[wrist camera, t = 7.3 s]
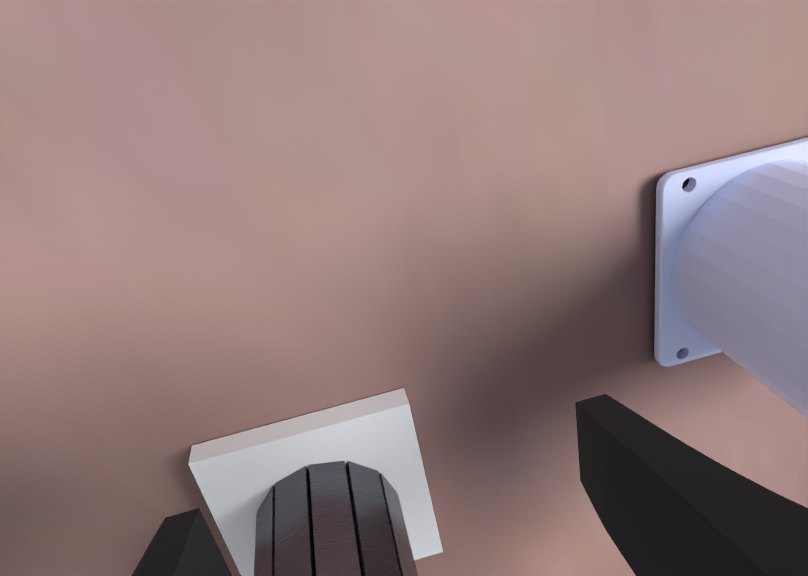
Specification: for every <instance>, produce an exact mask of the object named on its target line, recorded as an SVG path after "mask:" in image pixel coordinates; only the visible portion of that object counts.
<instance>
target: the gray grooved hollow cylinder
mask: <svg viewBox="0 0 808 576" xmlns="http://www.w3.org/2000/svg"><path fill="white" fill-rule="evenodd" d="M254 576H418V575H417V571H416V566H415V562H414V558H413V554H412V550H411V546H410V542H409V538H408V534H407V530H406V525H405V521H404V517H403V513H402V509H401V505H400V501H399V497H398V494H397V492H396V491H395V489H394V488H393V487H392V486H391V484H390V483H389V482H388V481H387V479H386V478H385V477H384V476H383V475H382V473H379V472H378V471H377V470H374V469H371V468H368V467H365V466H362V465H359V464H356V463H353V462H350V461H348V462H347V463H346V465H345V461H336V462H328V463H319V464H310V465H309V469H308V468H307V467H306V466H304V467H302V468H301V469H299V470H297V471H295V472H294V473H292V474H290V475H289V476H287V477H285V478H283V479H282V480H280V481H278V482H276V483H275V486H272V487H271V489H270V491H269V492H268V494H267V495H266V497H265V499H264V500H263V502H262V504H261V505H260V507H259V508H258V510H257V513H256V536H255V559H254Z"/></svg>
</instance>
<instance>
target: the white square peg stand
mask: <svg viewBox="0 0 808 576" xmlns="http://www.w3.org/2000/svg"><path fill="white" fill-rule="evenodd" d="M336 461H345V465H346V463H347V462H348V461H350V462H353V463H356V464H359V465H362V466H365V467H368V468H371V469H374V470H377V471H378V472H379V473H382V475H383V476H384V477H385V478H386V479H387V481H388V482H389V483H390V484H391V486H392V487H393V488H394V489H395V491H396V492H397V494H398V497H399V501H400V505H401V509H402V513H403V517H404V521H405V525H406V530H407V534H408V538H409V542H410V546H411V550H412V554H413V558H414V560H417V559H421V558H424V557H428V556H431V555H434V554H438V553H441V552H443V549H442V545H441V541H440V536H439V532H438V528H437V523H436V519H435V515H434V510H433V506H432V501H431V497H430V493H429V488H428V484H427V480H426V475H425V471H424V467H423V462H422V458H421V453H420V449H419V445H418V440H417V436H416V432H415V427H414V423H413V419H412V414H411V410H410V405H409V402H408V399H407V396H406V393H405V390H404V388H402V389H398V390H394V391H391V392H387V393H383V394H379V395H376V396H372V397H368V398H365V399H361V400H357V401H354V402H350V403H346V404H343V405H339V406H335V407H332V408H328V409H324V410H321V411H317V412H313V413H310V414H306V415H302V416H299V417H295V418H291V419H288V420H284V421H280V422H276V423H273V424H269V425H265V426H262V427H258V428H254V429H251V430H247V431H243V432H240V433H236V434H232V435H229V436H225V437H221V438H218V439H214V440H210V441H207V442H203V443H199V444H196V445H192V448H191V453H190V458H189V463H188V465H189V467H190V469H191V471H192V473H193V475H194V477H195V480H196V482H197V484H198V486H199V488H200V490H201V492H202V494H203V496H204V499H205V501H206V503H207V505H208V507H209V509H210V511H211V513H212V515H213V517H214V520H215V522H216V524H217V526H218V528H219V530H220V532H221V534H222V536H223V539H224V541H225V543H226V545H227V547H228V549H229V551H230V553H231V555H232V558H233V560H234V562H235V564H236V566H237V568H238V570H239V572H240V574H241V576H254V559H255V536H256V513H257V510H258V508H259V507H260V505H261V504H262V502H263V500H264V499H265V497H266V495H267V494H268V492H269V491H270V489H271V487H272V486H275V483H276V482H278V481H280V480H282V479H283V478H285V477H287V476H289V475H290V474H292V473H294V472H295V471H297V470H299V469H301V468H302V467H304V466H306V467H307V468H308V469H309V465H310V464H319V463H328V462H336Z"/></svg>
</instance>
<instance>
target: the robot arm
mask: <svg viewBox="0 0 808 576" xmlns="http://www.w3.org/2000/svg"><path fill="white" fill-rule="evenodd" d="M687 178H689V183H688V185H687V186H686V187H685V188H683V189H682V185H683V182H684V181H685V180H686V179H687ZM680 349H682V350H681V352H679V353H678V354H677V352H678V351H679V350H680ZM720 352H723V353H724V354H725V355H726V356H728V357H729V358H730V359H732V360H733V361H734V362H735V363H737V364H738V365H739V366H740V367H742V368H743V369H744V370H746V371H747V372H748V373H749V374H751V375H752V376H753V377H755V378H756V379H757V380H758V381H760V382H761V383H762V384H763V385H765V386H766V387H767V388H769V389H770V390H771V391H772V392H774V393H775V394H776V395H777V396H779V397H780V398H781V399H783V400H784V401H785V402H786V403H788V404H789V405H790V406H792V407H793V408H794V409H795V410H797V411H798V412H799V413H800V414H802V415H803V416H804V417H806V418H807V419H808V137H807V138H803V139H799V140H795V141H791V142H787V143H783V144H779V145H775V146H771V147H767V148H763V149H759V150H755V151H751V152H747V153H743V154H739V155H735V156H731V157H727V158H723V159H719V160H715V161H711V162H707V163H703V164H699V165H695V166H691V167H687V168H683V169H679V170H675V171H671V172H668V173H666V174H664V175H663V176H662V177H661V178H660V180H659V181H658V183H657V188H656V252H655V340H654V356H655V360H656V361H657V362H658V363H659V364H661V365H662V366H664V367H670V366H674V365H677V364H681V363H684V362H688V361H692V360H695V359H699V358H702V357H706V356H709V355H713V354H717V353H720ZM575 403H576V418H577V434H578V449H579V464H580V479H581V482H582V484H583V486H584V488H585V490H586V492H587V494H588V496H589V498H590V500H591V502H592V504H593V506H594V508H595V510H596V512H597V514H598V516H599V518H600V520H601V522H602V524H603V526H604V527H605V529H606V531H607V532H608V534H609V535H610V537H611V539H612V540H613V542H614V543H615V545H616V546H617V548H618V549H619V551H620V552H621V554H622V555H623V557H624V558H625V560H626V561H627V563H628V564H629V566H630V567H631V569H632V570H633V572H634V573H635V575H636V576H808V508H806V507H804V506H802V505H800V504H797V503H795V502H793V501H791V500H789V499H787V498H785V497H783V496H781V495H778V494H776V493H774V492H772V491H770V490H768V489H767V488H765V487H763V486H761V485H759V484H757V483H755V482H753V481H751V480H749V479H747V478H745V477H744V476H742V475H740V474H738V473H736V472H734V471H732V470H730V469H729V468H727V467H725V466H723V465H721V464H720V463H718V462H716V461H714V460H712V459H711V458H709V457H707V456H706V455H704V454H702V453H700V452H699V451H697V450H695V449H694V448H692V447H690V446H688V445H687V444H685V443H683V442H682V441H680V440H678V439H677V438H675V437H674V436H672V435H670V434H669V433H667V432H665V431H664V430H662V429H661V428H659V427H657V426H656V425H654V424H653V423H651V422H649V421H648V420H646V419H645V418H643V417H641V416H640V415H638V414H637V413H635V412H633V411H632V410H630V409H629V408H627V407H626V406H624V405H622V404H621V403H619V402H618V401H616V400H614V399H613V398H611V397H610V396H608V395H606V394H604V395H600V396H597V397H593V398H590V399H586V400H582V401H579V402H575ZM132 576H232V575H231V573H230V571H229V569H228V567H227V565H226V562H225V560H224V558H223V556H222V554H221V552H220V550H219V548H218V546H217V544H216V542H215V540H214V538H213V536H212V534H211V532H210V529H209V527H208V525H207V523H206V521H205V519H204V517H203V515H202V513H201V511H200V509H195V510H191V511H188V512H184V513H181V514H177V515H174V516H170V517H167V518H165V519H164V521H163V523H162V524H161V526H160V528H159V529H158V531H157V533H156V534H155V536H154V538H153V539H152V541H151V543H150V545H149V546H148V548H147V550H146V552H145V553H144V555H143V557H142V559H141V560H140V562H139V564H138V566H137V567H136V569H135V571H134V572H133V574H132Z"/></svg>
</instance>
